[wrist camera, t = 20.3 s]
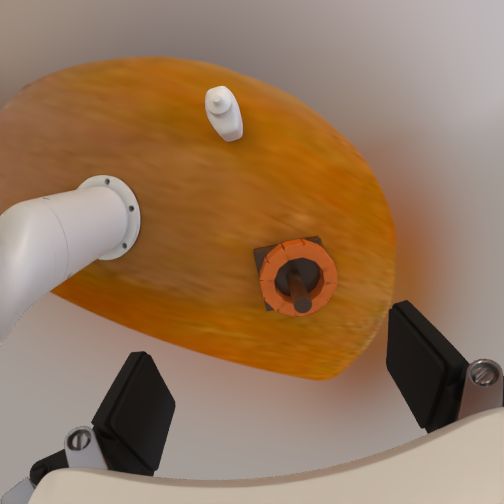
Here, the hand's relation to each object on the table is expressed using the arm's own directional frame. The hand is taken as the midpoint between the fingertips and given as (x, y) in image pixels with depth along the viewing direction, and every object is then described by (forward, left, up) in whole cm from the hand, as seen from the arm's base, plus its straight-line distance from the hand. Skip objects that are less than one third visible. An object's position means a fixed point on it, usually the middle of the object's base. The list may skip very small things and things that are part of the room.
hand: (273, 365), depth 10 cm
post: (+3, -8, -28) cm, 30 cm away
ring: (+4, -8, -27) cm, 28 cm away
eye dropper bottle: (-1, +14, -28) cm, 32 cm away
